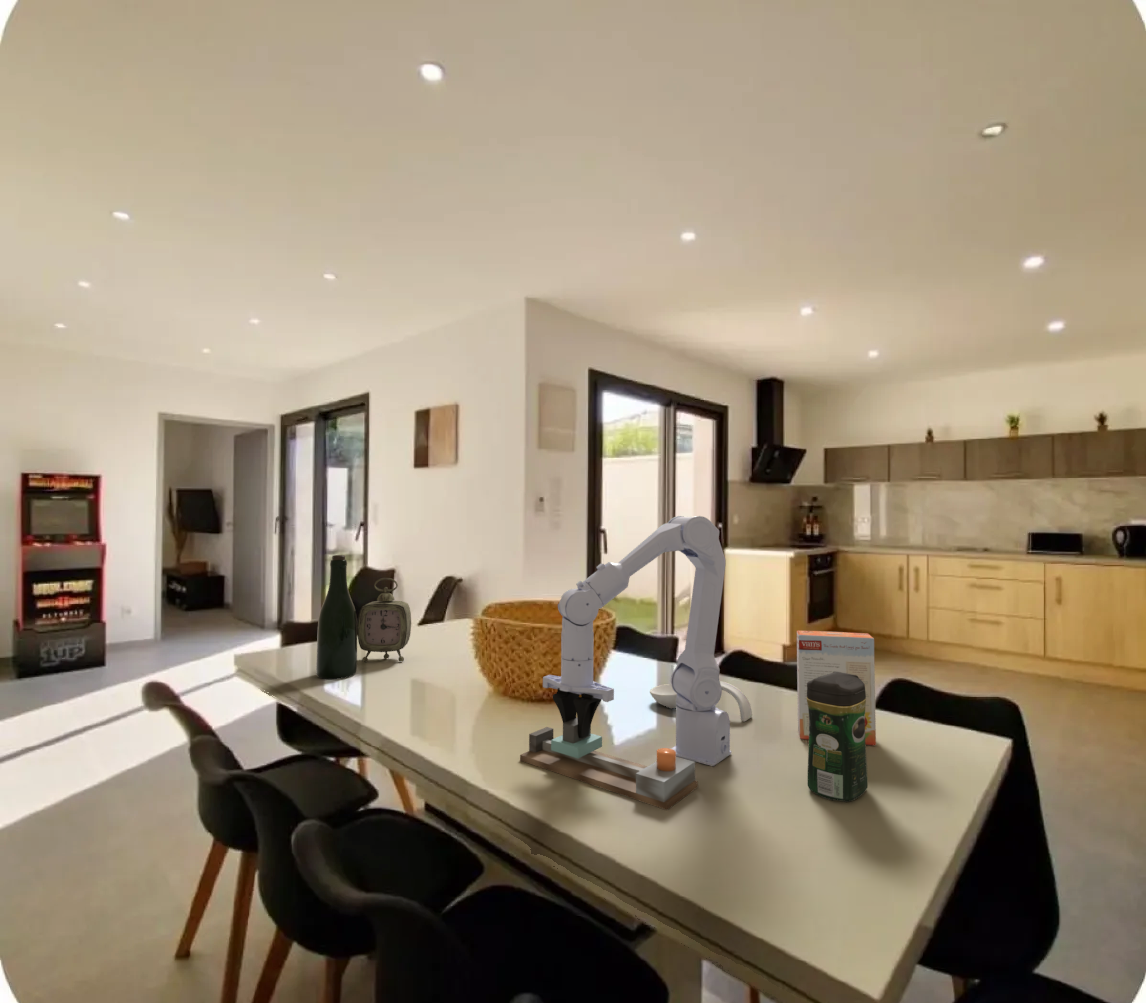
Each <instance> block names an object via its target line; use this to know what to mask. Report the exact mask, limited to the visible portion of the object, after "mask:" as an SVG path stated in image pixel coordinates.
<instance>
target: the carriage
mask: <svg viewBox="0 0 1146 1003" xmlns="http://www.w3.org/2000/svg"><path fill="white" fill-rule="evenodd" d="M591 729H592V726H590V731H589V735H588V736H587V737H584V738H579V736H578V719H577V717H576V718H575V719H572V720H570V721H567V722H565V723H563V722H562V735H559V736H557V737H553V739H552V740H551V750H552V751H555V752H559V753H562V754H565V755H568V756H571V757H575V758H580V757H582V756H584V755H586V754H588V753H590V752H592V751H596V750H598V749H601V748H602V747H603V736H601V735H598V734H594V733H591V732H592V730H591Z"/></svg>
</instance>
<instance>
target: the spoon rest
mask: <svg viewBox="0 0 1146 1003" xmlns="http://www.w3.org/2000/svg"><path fill="white" fill-rule="evenodd" d="M719 681H720V684H721V688H722V691H724V692H726V693H727V694H729V695H730V696H732V697H733V698H734V699H735V701H736V703H737V705H738V708H739V714H740V715H739V716H740V721H742V722H743V723H745V722H746V721H748V720H749V719H751V718H752V716H753V711H752V706H751V703H750V701H749V698H748V697H747V696H746V694H745V693H744V692H742V690H741V689H740V688H738V687H736V686H735V685H733V684H731V683H728V682H726V681H722V680H719ZM649 694H650V696H651V697H652V698H653V699H654V700H655V701H656V703H658V704H660V705H661V706H664V707H665V706H666V708H668V707H669V708H668V709H672V708H676V699H677V693H676V692H675V691H674V690H673V688H672V686H671V683H667V684H660V685H657V686H655V687H651V689H650V690H649Z"/></svg>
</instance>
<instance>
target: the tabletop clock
mask: <svg viewBox="0 0 1146 1003" xmlns="http://www.w3.org/2000/svg"><path fill="white" fill-rule="evenodd" d="M380 581H391V582H393V583H395V587H394V588H392V589H388V587H387V586H385V587H384V588H383V589H381V588H379V587H377V584H378V583H379V582H380ZM398 584H399V583H398V582H397V581H396V580H395V578H394V579H393V578H390V577H382V578H379V579H377V580H376V581H375V582H374V585H373V586H374V589H375V590H376V591H378V592H382V593H380V594H379V595H378V597H377V598H376V600H375V601H371V602H368V603H366V604H365V605H363V606H361V608H360V610H359V612H358V616H357V617H358V618H357V643H358V645H359V647H360V649H361V650H363V651H366V652H367V653H366V655H365V656H363V657H362V658H361V661H362V662H363V663H367V662H368V657H369V655H370V654H371V653H372V652H374V653H384V655H383V658H384V659H385V658H388V659H389V657H390V655H389V654H390V652H396V653H397V655H398V662H400V661H402V662H404V660H405V658H404V656H402V655H401V650H402V649H404V648H405V647H406V645H408V643H409V641H410V638H411V633H412V632H411V631H412V614H411V608H410V605H409V603H408V602H405V601H403V600H395V596H394V595H393V594H392V593H390V592H393V591H395V590H396V589H397V588H398V587H399V585H398ZM366 661H367V662H366Z"/></svg>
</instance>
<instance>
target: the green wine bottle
mask: <svg viewBox="0 0 1146 1003" xmlns="http://www.w3.org/2000/svg"><path fill="white" fill-rule="evenodd" d="M329 566H330V573H329V583H328V590H327V593H326V596H325V597H324V598H325V599H324V600H323V604H322V606H321V608H320V610H319V615H318V621H317V622H318V623H317V636H316V638H317V640H316V666H315V667H316V670H315V671H316V672H315V674H316V676H317V677H318V678H320V679H323V678H324V679H323V680H337V678H340V679H346V678H349V676H350V677H352V676H354V675H356V673H357V671H358V631H357V626H358V618H357V617H358V616H357V613H356V611H357V610H356V608H355V605H354V603H353V600H352V598H351V595H350V594H351V593H350V591H349V589H348V588H349V587H348V576H347V574H348V572H347V569H348V568H347V567H348V560H347V559H346V555H343V554H337V555H336V554H334V555H332V557H331V560H330V562H329ZM345 677H346V678H345Z"/></svg>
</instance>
